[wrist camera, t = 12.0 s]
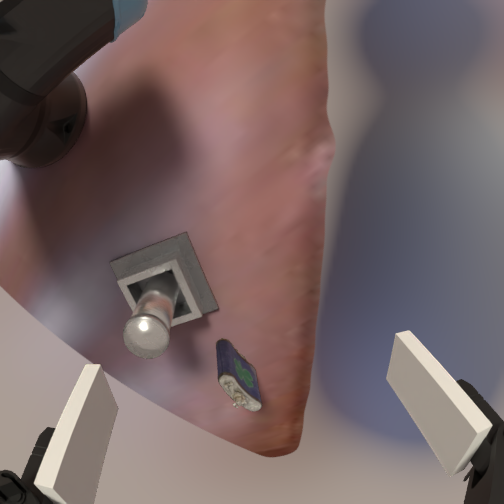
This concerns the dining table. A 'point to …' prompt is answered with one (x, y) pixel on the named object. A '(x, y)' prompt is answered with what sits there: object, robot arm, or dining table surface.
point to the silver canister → (152, 317)
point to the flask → (237, 376)
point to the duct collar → (175, 262)
